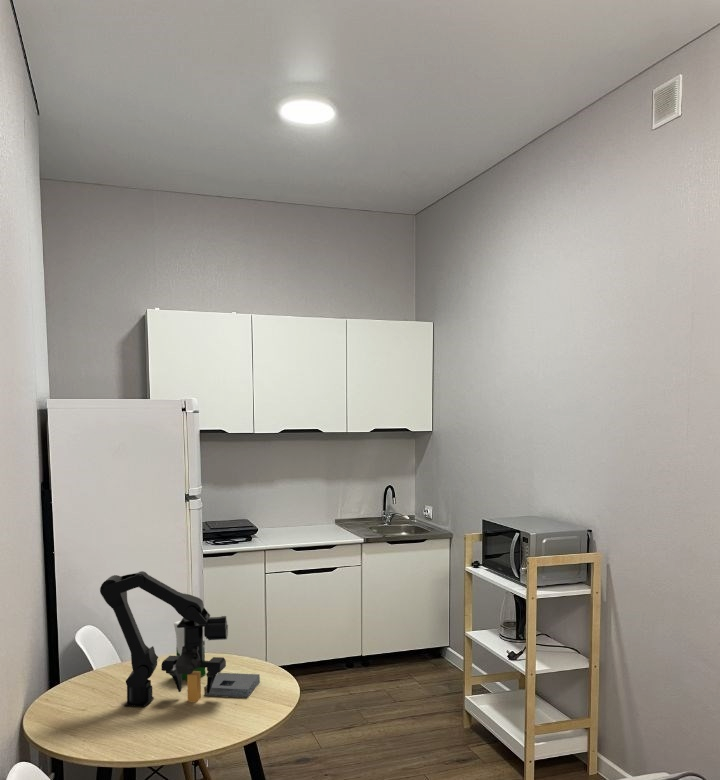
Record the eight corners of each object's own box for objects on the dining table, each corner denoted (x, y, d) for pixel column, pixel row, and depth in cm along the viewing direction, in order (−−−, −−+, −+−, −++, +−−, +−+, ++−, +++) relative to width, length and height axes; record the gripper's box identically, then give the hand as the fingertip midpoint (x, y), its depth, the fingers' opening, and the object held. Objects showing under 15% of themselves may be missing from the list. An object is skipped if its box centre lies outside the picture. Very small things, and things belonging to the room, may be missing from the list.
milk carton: (189, 682, 218) (188, 620, 218) (171, 677, 223) (170, 616, 224) (209, 674, 225) (208, 613, 226) (191, 668, 230) (191, 609, 231)
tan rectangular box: (187, 701, 203) (187, 674, 204) (191, 697, 206) (191, 670, 207) (197, 701, 203) (196, 675, 203) (200, 697, 206) (200, 671, 206)
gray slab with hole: (204, 695, 207) (204, 687, 207) (218, 680, 219) (218, 672, 219) (247, 697, 205) (247, 689, 205) (259, 682, 217) (259, 674, 217)
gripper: (152, 648, 199) (153, 702, 198) (212, 650, 196) (213, 705, 195) (169, 636, 210) (169, 687, 209) (226, 638, 207) (226, 689, 206)
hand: (194, 692), depth 205 cm, fingers open, 9 cm apart
